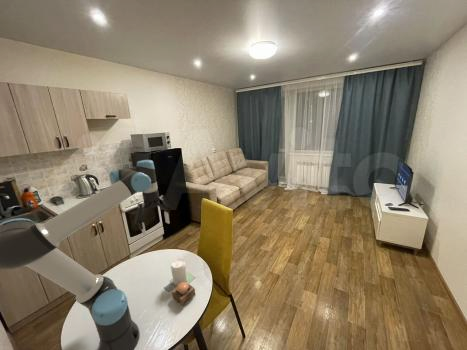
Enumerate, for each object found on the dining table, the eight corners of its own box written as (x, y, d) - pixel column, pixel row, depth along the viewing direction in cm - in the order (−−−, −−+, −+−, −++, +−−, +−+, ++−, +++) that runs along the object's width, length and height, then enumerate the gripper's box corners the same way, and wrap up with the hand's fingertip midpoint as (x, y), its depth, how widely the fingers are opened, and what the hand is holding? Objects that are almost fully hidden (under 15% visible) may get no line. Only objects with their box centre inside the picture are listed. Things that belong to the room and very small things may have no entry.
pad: (180, 290, 108) (180, 289, 108) (169, 281, 115) (169, 280, 114) (195, 277, 116) (195, 277, 116) (184, 269, 123) (184, 269, 123)
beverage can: (189, 276, 117) (187, 259, 114) (183, 286, 110) (181, 269, 106) (177, 274, 119) (175, 258, 116) (170, 285, 111) (168, 267, 108)
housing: (182, 306, 98) (181, 299, 97) (172, 298, 103) (171, 291, 102) (195, 295, 104) (194, 288, 103) (185, 287, 109) (184, 281, 108)
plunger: (183, 302, 99) (181, 293, 98) (176, 296, 103) (174, 287, 101) (192, 294, 104) (190, 285, 102) (185, 289, 108) (183, 280, 106)
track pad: (168, 291, 107) (168, 291, 107) (164, 287, 110) (164, 287, 110) (175, 286, 111) (175, 286, 110) (170, 282, 113) (170, 282, 113)
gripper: (127, 200, 86) (136, 241, 91) (175, 185, 104) (180, 220, 110) (120, 197, 90) (129, 236, 96) (167, 183, 109) (172, 217, 114)
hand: (156, 228), depth 103 cm, fingers open, 13 cm apart
